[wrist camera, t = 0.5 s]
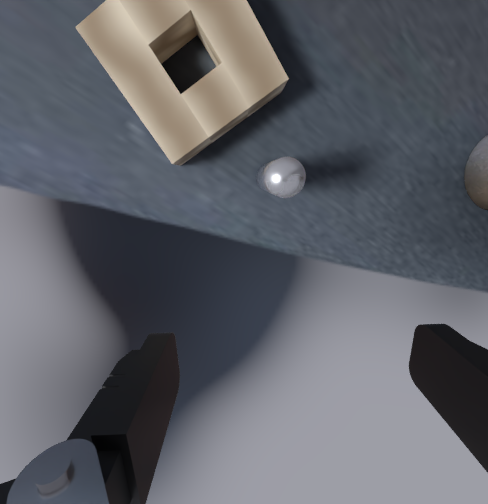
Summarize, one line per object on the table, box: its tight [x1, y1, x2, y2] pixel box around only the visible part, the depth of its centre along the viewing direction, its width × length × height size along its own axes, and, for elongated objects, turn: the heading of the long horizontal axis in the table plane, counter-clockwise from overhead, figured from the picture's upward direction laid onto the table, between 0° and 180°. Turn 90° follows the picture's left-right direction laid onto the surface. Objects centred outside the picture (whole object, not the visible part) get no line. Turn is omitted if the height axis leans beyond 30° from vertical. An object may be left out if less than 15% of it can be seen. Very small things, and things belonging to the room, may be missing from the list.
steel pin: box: [257, 157, 306, 198], centre depth 25 cm, size 3×3×10 cm
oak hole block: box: [76, 0, 289, 166], centre depth 25 cm, size 13×13×4 cm
